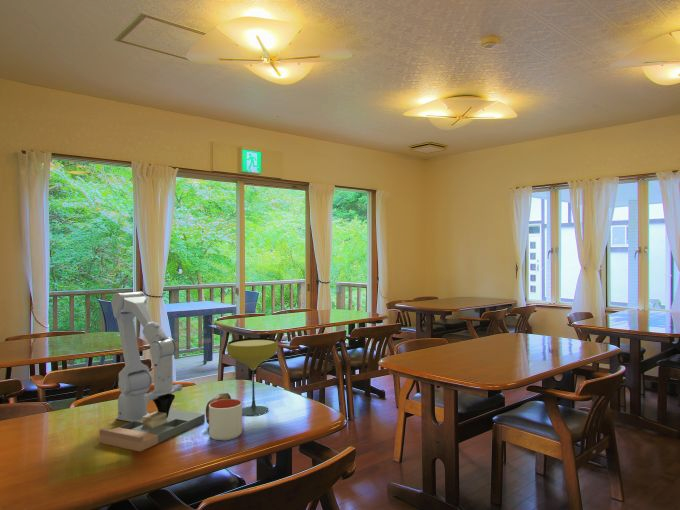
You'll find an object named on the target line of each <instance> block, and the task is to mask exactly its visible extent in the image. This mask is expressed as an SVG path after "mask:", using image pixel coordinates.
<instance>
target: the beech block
mask: <svg viewBox="0 0 680 510" xmlns="http://www.w3.org/2000/svg"><path fill="white" fill-rule="evenodd" d="M166 422H167V417H166V413H163V412H158V410H157V411H153V412H151V413H149V414H148V415H145V416H143V426H145V427H151V428H154V427H157V426H159V425H162V424H164V423H166Z"/></svg>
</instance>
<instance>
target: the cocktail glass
mask: <svg viewBox="0 0 680 510" xmlns="http://www.w3.org/2000/svg"><path fill="white" fill-rule="evenodd" d="M226 351H227V355H229V356H230V358H232V359H233V360H236V361H237V362H240V363H243V364H245V365H246V366H247V367H248V368H249V369H250V371H252V373H251V374H252V375H251V376H252V377H251V379H252V381H251V382H252V383H251V384H252V387H251V388H252V389H251V390H252V396H251V397H252V398H251V399H252V400H251V405H250V406H244V407H242V416H244V415H247V416H246V417H255V416H254V415H257V416H260V415H259V414H262V413H265V412H267V411H268V409H269V407H268V406H264V405H257V404H256V399H255V398H256V397H255V371H256V369H257V368H258V367H259V366H260V364H262V363H264V362H266V361H267V360H268V359H270V358H272V357H274V356H275V354H276V353H277V352H278V351H279V344H278V339H276V338H271V337H248V338H247V337H246V338H240V339H233V340H230V341H228V343H227V345H226ZM268 412H269V411H268ZM268 412H267V413H268ZM265 414H266V413H265ZM262 415H263V414H262Z"/></svg>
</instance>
